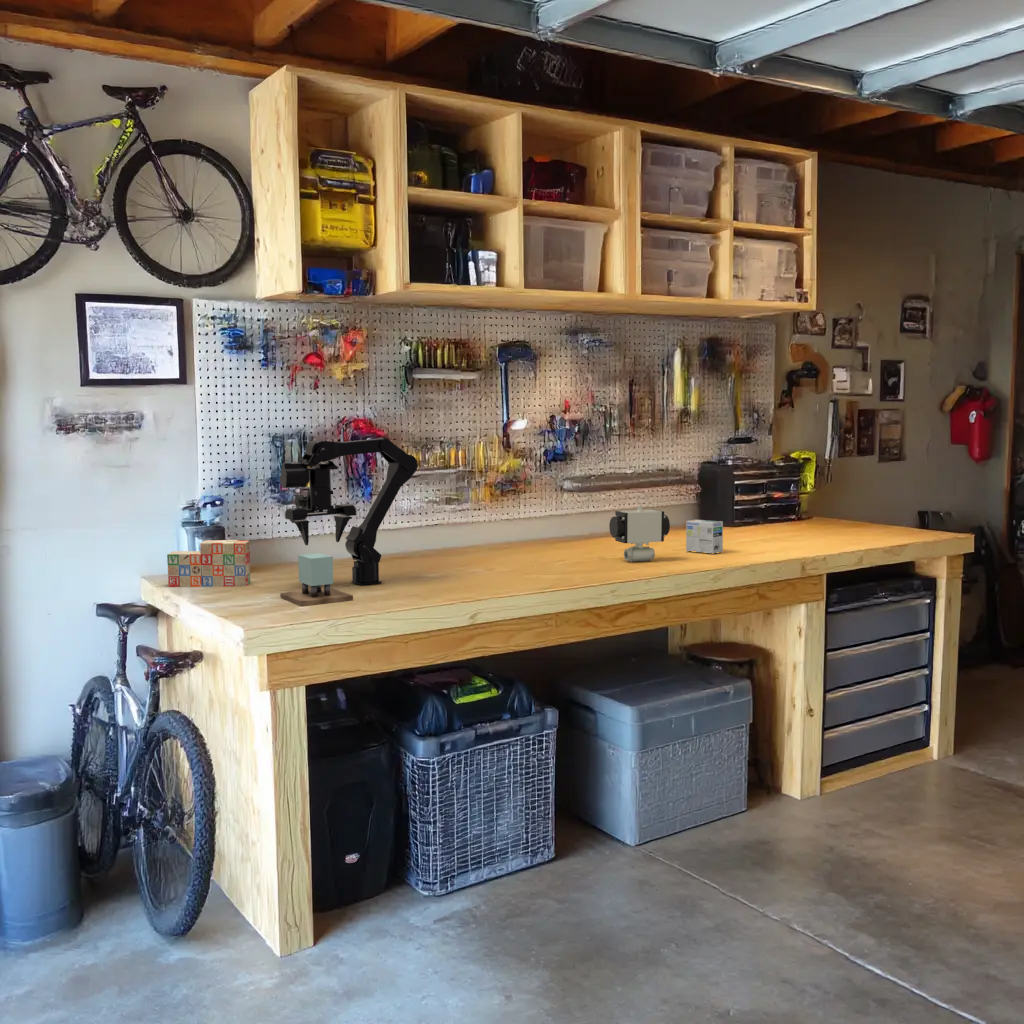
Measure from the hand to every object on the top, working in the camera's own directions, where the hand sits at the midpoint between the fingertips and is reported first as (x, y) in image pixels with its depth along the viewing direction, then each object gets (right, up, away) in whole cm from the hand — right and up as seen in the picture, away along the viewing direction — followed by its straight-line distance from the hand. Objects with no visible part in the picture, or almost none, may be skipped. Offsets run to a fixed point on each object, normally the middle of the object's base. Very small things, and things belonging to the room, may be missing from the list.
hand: (322, 543), depth 276 cm
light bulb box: (+117, -5, +65) cm, 134 cm away
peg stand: (+1, -14, -16) cm, 21 cm away
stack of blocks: (-32, -12, +6) cm, 35 cm away
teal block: (+1, -10, -16) cm, 19 cm away
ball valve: (+92, -7, +46) cm, 103 cm away
